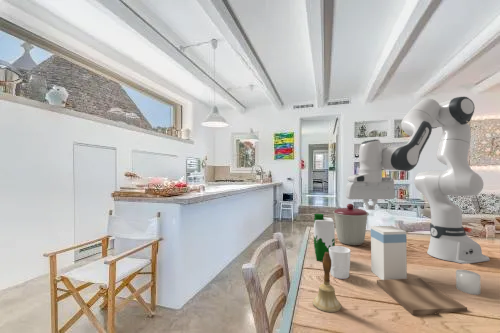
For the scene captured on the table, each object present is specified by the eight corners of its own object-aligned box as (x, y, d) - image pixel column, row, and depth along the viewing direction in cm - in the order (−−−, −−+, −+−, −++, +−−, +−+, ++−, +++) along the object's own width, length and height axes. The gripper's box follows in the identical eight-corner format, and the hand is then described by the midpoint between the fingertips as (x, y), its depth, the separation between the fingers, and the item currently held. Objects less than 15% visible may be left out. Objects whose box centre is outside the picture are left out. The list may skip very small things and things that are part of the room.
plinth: (420, 282, 87) (420, 278, 87) (467, 312, 69) (467, 307, 69) (376, 284, 87) (376, 279, 87) (412, 315, 69) (412, 309, 69)
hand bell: (333, 296, 79) (332, 247, 79) (346, 311, 71) (345, 256, 71) (308, 298, 78) (308, 248, 78) (319, 313, 70) (318, 258, 70)
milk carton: (313, 254, 116) (313, 212, 116) (333, 255, 114) (332, 212, 114) (314, 261, 108) (314, 216, 108) (336, 262, 106) (335, 216, 106)
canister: (346, 249, 122) (345, 207, 122) (326, 238, 140) (326, 202, 140) (377, 246, 126) (376, 205, 126) (354, 236, 144) (353, 200, 144)
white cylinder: (468, 286, 84) (468, 269, 84) (485, 296, 78) (485, 277, 78) (451, 287, 84) (451, 269, 84) (467, 296, 78) (467, 277, 78)
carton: (392, 270, 97) (391, 225, 97) (407, 280, 89) (406, 231, 89) (371, 271, 97) (370, 226, 97) (384, 281, 88) (383, 232, 88)
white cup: (348, 281, 89) (348, 254, 89) (326, 276, 93) (326, 250, 93) (352, 273, 95) (352, 247, 95) (331, 269, 100) (331, 244, 99)
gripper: (389, 177, 108) (389, 208, 108) (344, 177, 107) (344, 208, 107) (398, 177, 102) (398, 210, 102) (350, 177, 101) (350, 211, 101)
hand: (370, 209), depth 105 cm, fingers closed
